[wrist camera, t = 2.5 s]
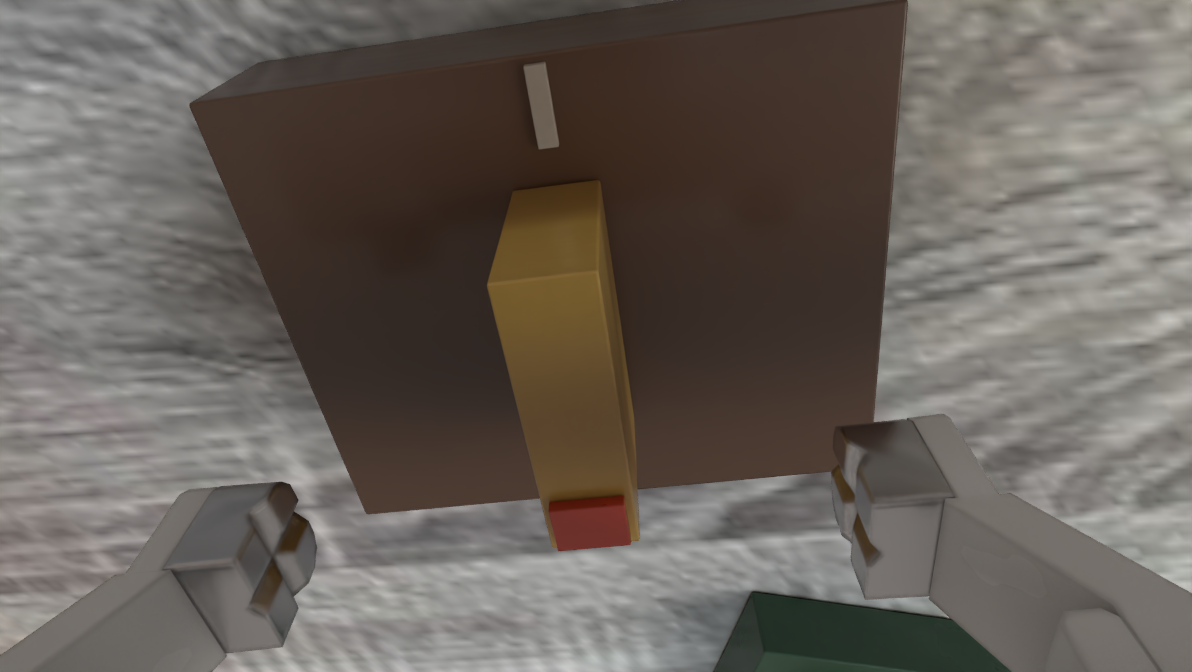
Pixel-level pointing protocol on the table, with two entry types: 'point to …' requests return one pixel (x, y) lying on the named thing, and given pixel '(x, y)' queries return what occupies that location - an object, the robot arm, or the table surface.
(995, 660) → the button box
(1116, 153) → the table surface
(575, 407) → the lock knob
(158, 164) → the table surface
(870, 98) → the lock plate
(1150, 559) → the table surface
